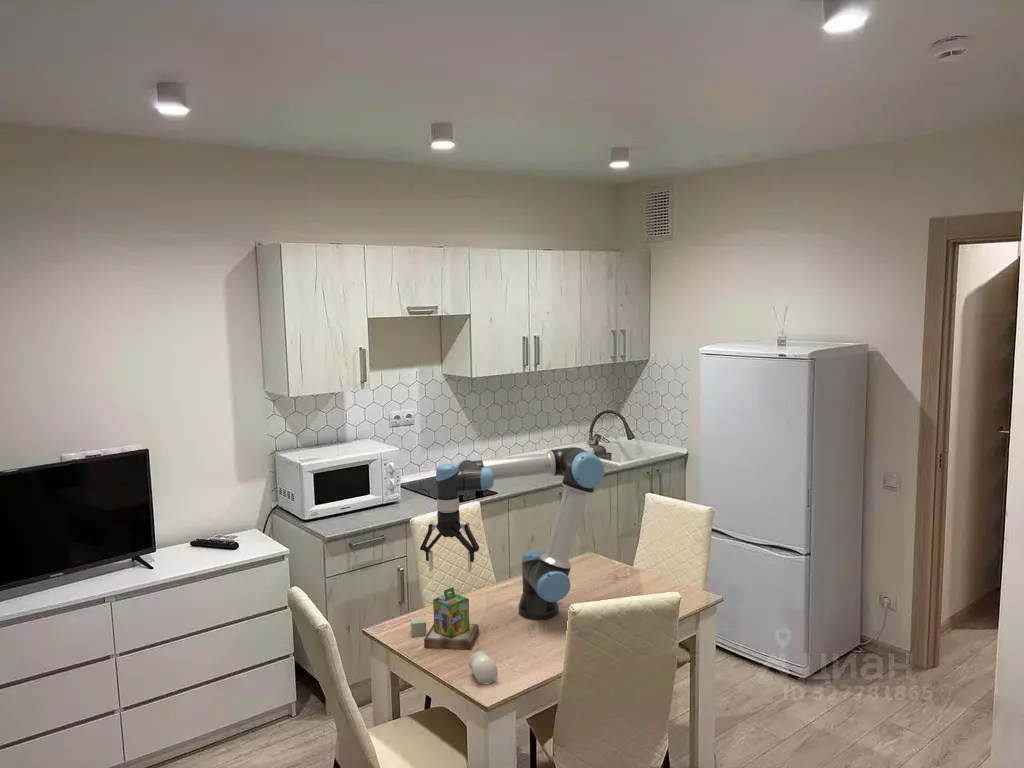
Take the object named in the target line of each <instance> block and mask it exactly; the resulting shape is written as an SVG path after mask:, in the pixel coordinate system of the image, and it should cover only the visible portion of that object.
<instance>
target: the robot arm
mask: <svg viewBox="0 0 1024 768" xmlns="http://www.w3.org/2000/svg"><path fill="white" fill-rule="evenodd" d="M435 472H436V473H435V484H436V487H435V488H436V510H437V512H436V513H437V514H436V515H437V523H434V522H430V523H428V528H427V532H426V535H425V536H424V539H423V541H422V544H421V545H420V548H419V550H420V551H422V552H425V561H426V562H428V571H429V572H432V571H433V570H434V557H433V555H434V554H433V550H432V548H433V547H434V545H436V543H437V542H438V540H439V539H440V538H441V537H443V538H448V537H449V538H456V539H457V540H458V541H459V542H460V543H461V545H463V547H465V549H466V551H468V552H467V572H468V573H471V572H472V570H473V568H472V565H473V564H472V563H474V562H475V553H476V552H478V551H479V550H480V546H479V544H478V542H477V540H476V538H475V535H474V534H473V532H472V531H471V527H470V523H468V522H466V523H465V524H462V523H461V522H460V521H461V517H460V514H461V513H460V510H459V509H460V493H461V492H472V491H473V492H475V491H484V490H490V489H492V488H493V487H494V480H501V479H511V478H512V479H513V478H520V477H521V478H522V477H529V476H540V475H550V476H551V477H554V476H561V477H563V478H562V482H561V484H562V487H563V489H564V490H563V494H562V497H561V500H560V502H559V503H560V504H559V507H558V510H557V513H556V518H555V521H554V524H553V527H552V531H551V533H550V537H549V540H548V544H547V547H546V550H545V549H544V550H542V549H540V550H538V549H537V550H529V551H527V552H524V553H523V554H522V557H521V568H522V569H521V570H522V571H521V572H522V574H521V575H522V593H521V597H520V600H519V603H518V614H519V616H521V617H523V618H525V619H529V620H534V621H535V620H536V621H540V620H547V619H548V620H549V619H552V618H554V617H556V616H557V615H558V614H559V611H560V609H559V607H560V606H559V603H558V602H559V601H561V600H563V599H564V598H565V597H567V596H568V594H569V593H570V589H571V579H570V578H569V575H570V572H571V568H572V564H571V563H570V558H571V553H572V550H573V547H574V543H575V540H576V537H577V533H578V531H579V530H578V529H579V526H580V523H581V521H582V517H583V514H584V510H585V506H586V503H587V501H588V500H587V499H588V498H589V496H591V495H593V494H594V492H595V488H596V487H597V486H598V485H599V484H601V482H602V481H603V479H604V476H605V475H604V474H605V467H604V463H603V461H602V460H601V459H600V458H599V457H598V456H597V455H596V454H594V453H593V452H590V451H587V450H585V449H583V448H581V447H577V446H576V447H575V446H574V447H573V446H571V447H563V448H562V447H561V448H557V449H556V448H555V449H548V451H547V452H546V453H545V452H544V453H536V454H527V455H526V454H525V455H517V456H508V457H498V458H490V459H487V458H486V459H481V460H470V459H462V460H461V461H459V462H458V463H457V464H455V463H443V464H439V465H437V467H436V470H435ZM435 529H436V530H437V531H438V532H439V533H438V534H437V535H436V536H435V537H434V538H433V540H432V541H431V542H430V544H429V545H428V542H429V540H430V538H431V536H432V533H433V532H434V530H435ZM461 529H462V531H464V532H465V535H466V537H467V538H468V540H469V541H468V540H467V539H466V538H465V536H464V535H463V533H462V532H461V531H460V530H461Z"/></svg>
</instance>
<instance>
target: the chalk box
mask: <svg viewBox="0 0 1024 768" xmlns="http://www.w3.org/2000/svg"><path fill="white" fill-rule="evenodd" d="M443 594H444V595H442V596H438V597H436V598H434V599H432V603H433V604H432V605H433V606H432V608H433V624H434V632H437V633H439V634H442V635H445V636H447V637H450V638H453V637H455V636H457V635H459V634H462V633H464V632H466V631H469V624H470V599H469V598H468V597H465V596H463V595H460V594H456V592H455V588H454V587H453V586H452V587H449V588H447V589H445V590H444V591H443Z"/></svg>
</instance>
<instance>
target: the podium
mask: <svg viewBox="0 0 1024 768" xmlns="http://www.w3.org/2000/svg"><path fill="white" fill-rule="evenodd" d="M479 631H480V629H479V624H478V623H469V631H466V632H464V633H462V634H459V635H457V636H455V637H453V638H450V637H447V636H445V635H442V634H439V633H437V632H434V623H433V624H432V626H431V627H430V629H429V631H428V632H427V633H426V634H427V635H426V636H424V639H423V647H424V649H439V650H440V649H441V650H442V649H443V650H461V651H471V650H472V649H473V646H474V644H475V641H476V639H477V638H478V635H479V634H480V632H479Z"/></svg>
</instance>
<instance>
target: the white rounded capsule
mask: <svg viewBox="0 0 1024 768" xmlns="http://www.w3.org/2000/svg"><path fill="white" fill-rule="evenodd" d="M468 665H469V669H470V671H471V672H472V674H473V675H474V677H475V679H476V681H477V682H478V683H479V684H481V685H486V684H485V683H489V684H491V683H493V682H494V681H495V680H497V679H496V678H497V677H498V674H499V671H498V670H499V669H498V667H497V665H496V663H495V662H494V661H493V659H492V658H491V656H490V654H489V653H488V651H487V652H486V651H484V650H478V651H476V652H473V654H472V655H471V656H470V658H469V660H468ZM490 682H491V683H490Z"/></svg>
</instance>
